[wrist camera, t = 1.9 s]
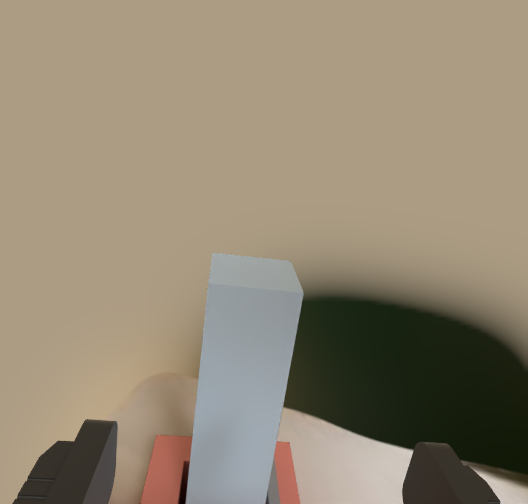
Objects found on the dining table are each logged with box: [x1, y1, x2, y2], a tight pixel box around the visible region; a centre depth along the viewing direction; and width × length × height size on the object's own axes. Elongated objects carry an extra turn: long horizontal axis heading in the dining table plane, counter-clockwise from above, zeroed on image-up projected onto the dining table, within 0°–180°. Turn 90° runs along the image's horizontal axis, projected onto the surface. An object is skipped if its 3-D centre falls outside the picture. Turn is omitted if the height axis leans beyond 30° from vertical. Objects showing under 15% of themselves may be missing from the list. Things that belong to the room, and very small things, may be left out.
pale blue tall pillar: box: [186, 253, 303, 504], centre depth 24 cm, size 4×4×20 cm
